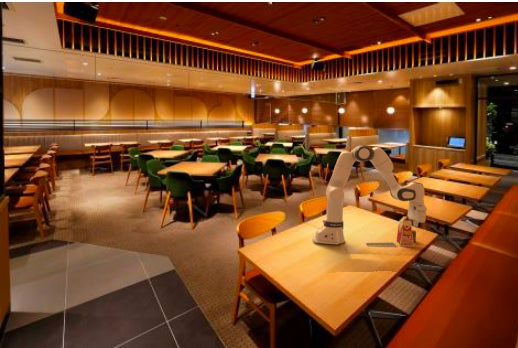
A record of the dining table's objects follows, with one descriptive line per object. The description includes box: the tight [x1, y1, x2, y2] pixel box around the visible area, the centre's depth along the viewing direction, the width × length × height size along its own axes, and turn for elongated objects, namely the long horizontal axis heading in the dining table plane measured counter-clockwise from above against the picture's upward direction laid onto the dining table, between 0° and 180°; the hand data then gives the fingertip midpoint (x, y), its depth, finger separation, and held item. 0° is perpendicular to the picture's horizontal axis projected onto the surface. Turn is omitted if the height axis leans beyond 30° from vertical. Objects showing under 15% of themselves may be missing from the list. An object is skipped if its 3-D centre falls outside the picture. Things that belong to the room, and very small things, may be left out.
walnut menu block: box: [412, 229, 417, 243], centre depth 199 cm, size 4×4×8 cm
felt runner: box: [365, 241, 398, 248], centre depth 195 cm, size 19×9×1 cm, turn 82°
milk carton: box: [396, 215, 415, 248], centre depth 194 cm, size 9×9×20 cm
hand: (415, 226), depth 193 cm, fingers closed
